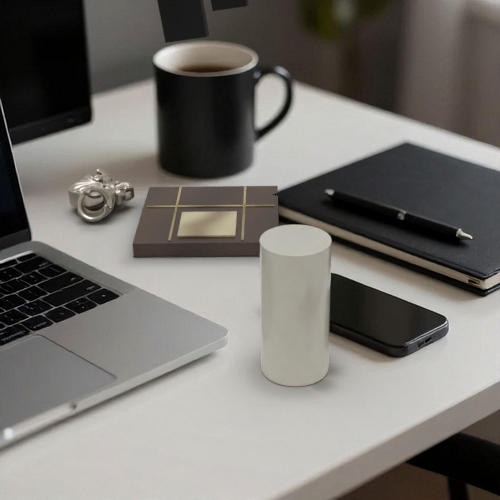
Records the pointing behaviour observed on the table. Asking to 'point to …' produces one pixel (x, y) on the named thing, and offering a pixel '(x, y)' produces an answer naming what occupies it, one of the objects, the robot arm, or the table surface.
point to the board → (205, 221)
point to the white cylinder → (295, 304)
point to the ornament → (98, 195)
